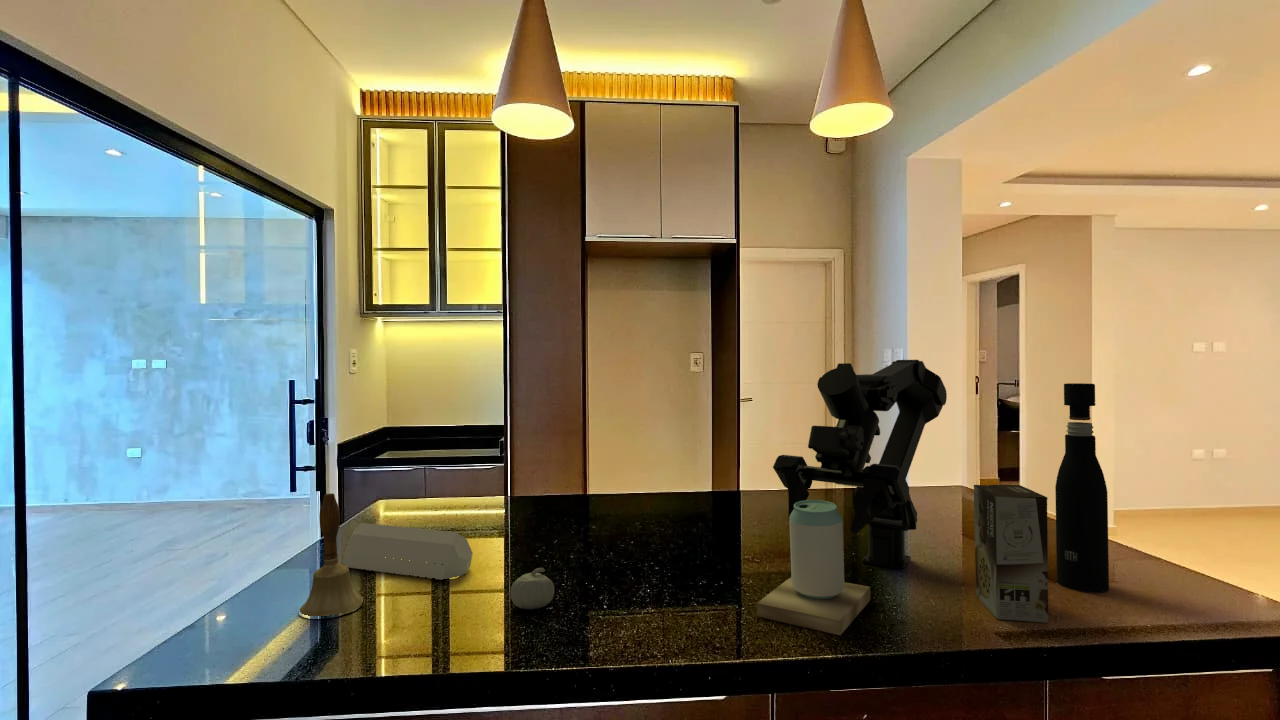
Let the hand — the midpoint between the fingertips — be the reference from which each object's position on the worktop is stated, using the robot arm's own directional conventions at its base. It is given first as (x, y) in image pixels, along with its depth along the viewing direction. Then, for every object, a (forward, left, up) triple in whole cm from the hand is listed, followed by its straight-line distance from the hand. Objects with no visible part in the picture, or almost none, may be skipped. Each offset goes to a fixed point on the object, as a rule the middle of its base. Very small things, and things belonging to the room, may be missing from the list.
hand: (820, 527), depth 88 cm
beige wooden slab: (+2, 0, -11) cm, 12 cm away
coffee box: (-12, +22, -11) cm, 27 cm away
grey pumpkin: (+23, -33, -11) cm, 42 cm away
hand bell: (+39, -56, -11) cm, 69 cm away
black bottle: (-28, +30, -11) cm, 42 cm away
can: (+1, 0, -9) cm, 9 cm away
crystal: (+22, -62, -11) cm, 67 cm away
